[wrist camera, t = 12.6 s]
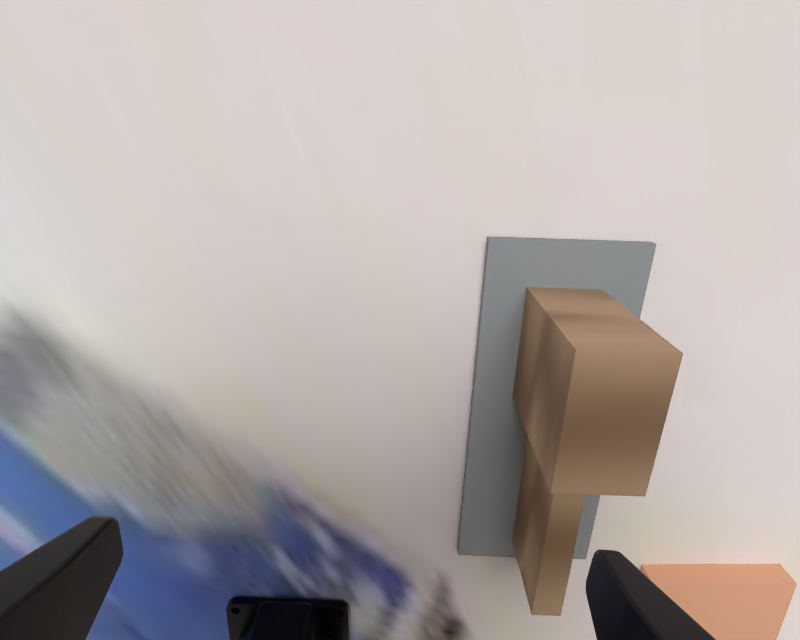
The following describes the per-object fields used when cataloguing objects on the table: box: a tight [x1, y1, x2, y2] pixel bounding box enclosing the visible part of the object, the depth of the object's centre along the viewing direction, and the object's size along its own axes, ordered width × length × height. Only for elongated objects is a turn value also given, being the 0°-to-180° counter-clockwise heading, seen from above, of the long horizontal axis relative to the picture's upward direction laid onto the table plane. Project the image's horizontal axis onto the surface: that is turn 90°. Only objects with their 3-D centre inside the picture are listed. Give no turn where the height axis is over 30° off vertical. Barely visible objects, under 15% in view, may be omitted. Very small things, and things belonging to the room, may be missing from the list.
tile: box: [641, 564, 796, 640], centre depth 26 cm, size 2×7×7 cm
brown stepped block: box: [512, 287, 683, 616], centre depth 19 cm, size 13×3×6 cm, turn 178°
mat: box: [458, 237, 656, 559], centre depth 21 cm, size 16×6×1 cm, turn 178°
